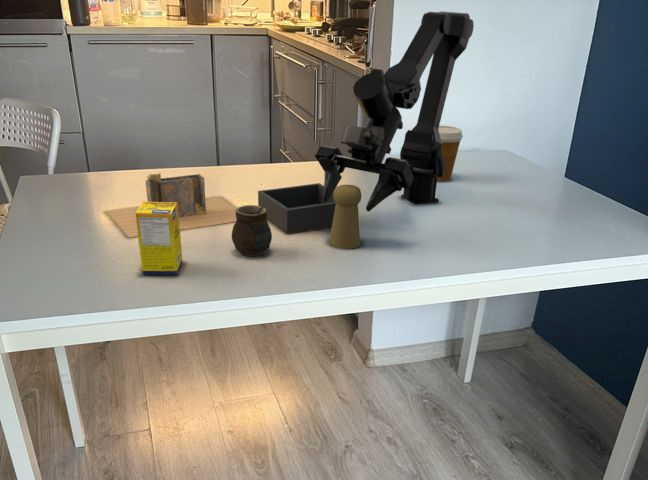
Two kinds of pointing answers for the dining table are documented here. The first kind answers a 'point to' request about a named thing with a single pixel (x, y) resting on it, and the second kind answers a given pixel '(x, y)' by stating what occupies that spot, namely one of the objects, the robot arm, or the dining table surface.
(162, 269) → the supplement box
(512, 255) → the dining table surface
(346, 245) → the tan pawn figure
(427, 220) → the dining table surface
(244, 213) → the mate gourd
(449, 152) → the disposable coffee cup
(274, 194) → the bin
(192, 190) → the architectural model on board
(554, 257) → the dining table surface
